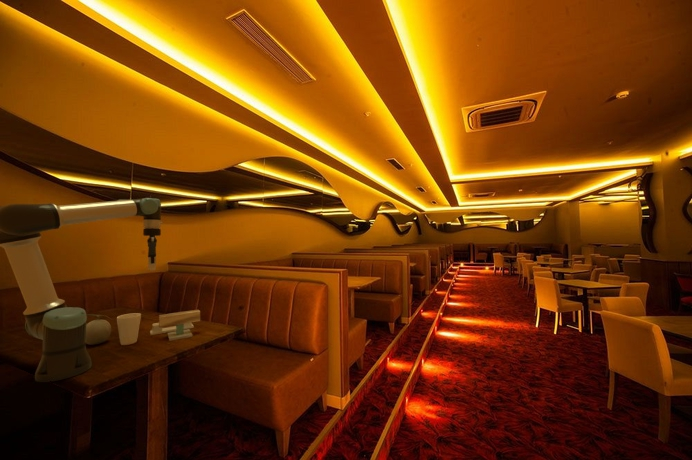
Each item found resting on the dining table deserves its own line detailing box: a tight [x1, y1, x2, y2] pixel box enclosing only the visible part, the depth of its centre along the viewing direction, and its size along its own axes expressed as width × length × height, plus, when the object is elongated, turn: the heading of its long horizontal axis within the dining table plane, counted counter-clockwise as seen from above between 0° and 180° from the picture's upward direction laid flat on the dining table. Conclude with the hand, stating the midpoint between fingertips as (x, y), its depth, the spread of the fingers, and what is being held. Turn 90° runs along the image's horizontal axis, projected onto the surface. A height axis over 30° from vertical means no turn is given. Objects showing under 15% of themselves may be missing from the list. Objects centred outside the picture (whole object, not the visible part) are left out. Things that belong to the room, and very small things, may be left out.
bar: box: [158, 309, 201, 328], centre depth 146 cm, size 5×18×5 cm, turn 127°
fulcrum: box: [167, 324, 193, 342], centre depth 146 cm, size 10×10×7 cm
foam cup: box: [116, 312, 142, 346], centre depth 138 cm, size 10×9×13 cm
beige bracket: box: [149, 322, 195, 336], centre depth 156 cm, size 6×20×4 cm, turn 127°
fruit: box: [86, 313, 112, 346], centre depth 137 cm, size 10×12×15 cm
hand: (151, 269), depth 147 cm, fingers open, 13 cm apart
